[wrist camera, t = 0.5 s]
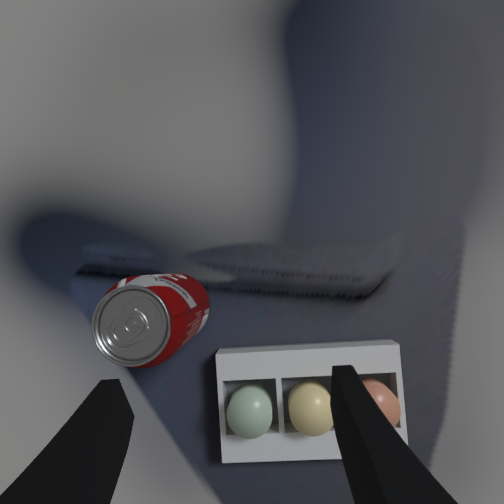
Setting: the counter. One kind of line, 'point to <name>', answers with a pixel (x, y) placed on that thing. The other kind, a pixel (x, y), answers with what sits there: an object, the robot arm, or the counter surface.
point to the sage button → (250, 411)
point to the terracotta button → (384, 399)
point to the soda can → (149, 318)
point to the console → (281, 383)
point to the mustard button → (310, 408)
